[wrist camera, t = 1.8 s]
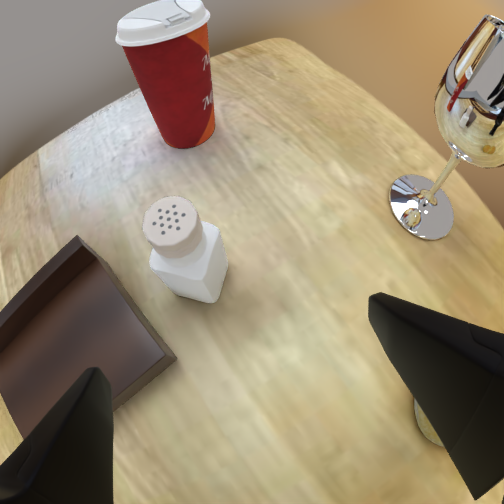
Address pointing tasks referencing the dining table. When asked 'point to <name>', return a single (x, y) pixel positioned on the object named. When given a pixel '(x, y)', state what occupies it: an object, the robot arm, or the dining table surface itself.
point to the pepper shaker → (185, 249)
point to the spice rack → (73, 336)
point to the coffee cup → (172, 67)
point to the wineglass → (459, 129)
